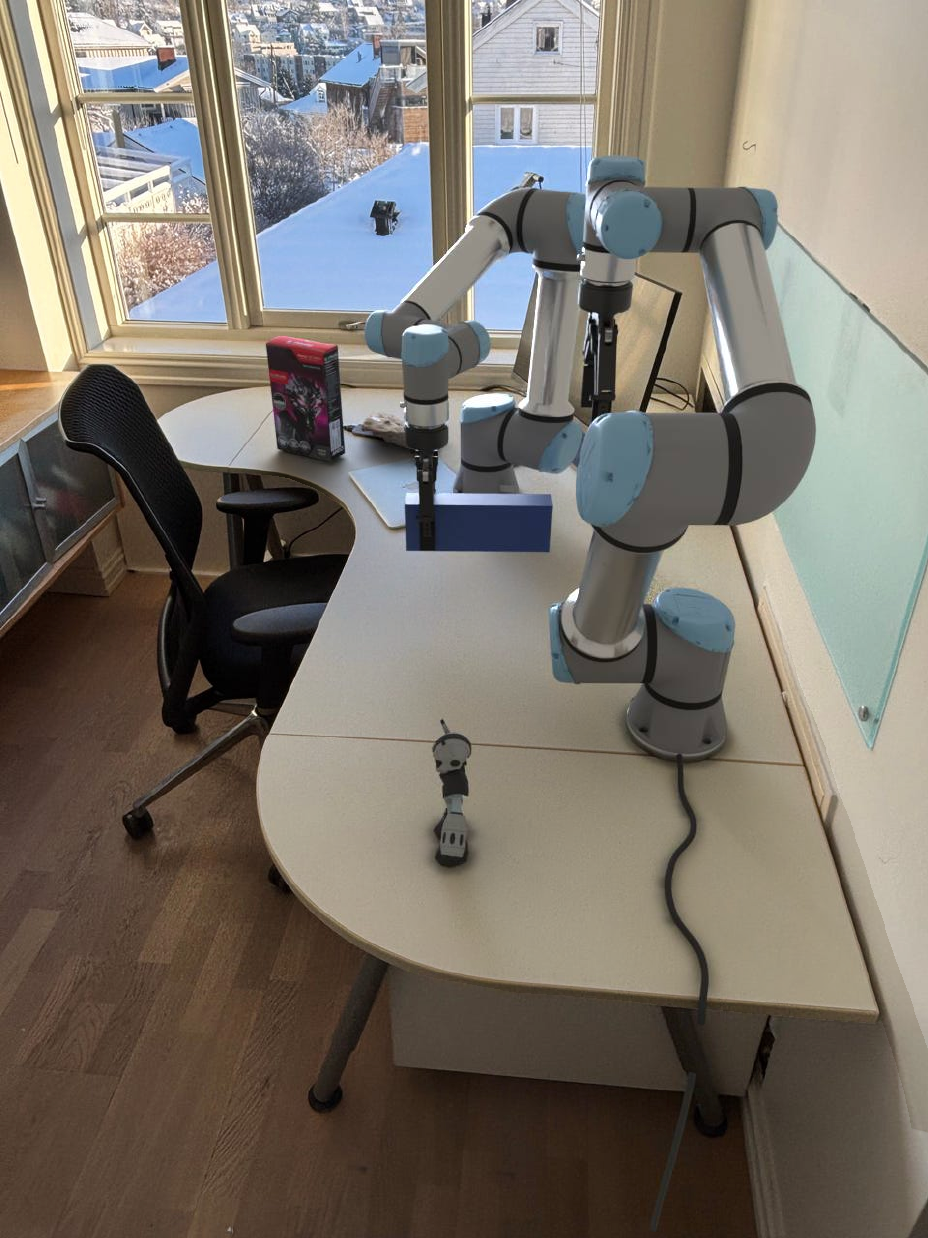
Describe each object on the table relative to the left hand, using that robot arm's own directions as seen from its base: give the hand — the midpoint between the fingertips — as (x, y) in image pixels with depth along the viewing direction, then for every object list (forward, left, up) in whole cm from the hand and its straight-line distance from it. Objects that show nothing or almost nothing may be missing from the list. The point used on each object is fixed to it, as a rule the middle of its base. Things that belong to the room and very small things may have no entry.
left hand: (428, 542), depth 168 cm
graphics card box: (-55, -48, -12) cm, 74 cm away
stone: (-67, -29, -12) cm, 74 cm away
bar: (-2, +9, -1) cm, 9 cm away
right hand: (+7, +29, +29) cm, 41 cm away
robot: (+59, +21, -12) cm, 63 cm away
